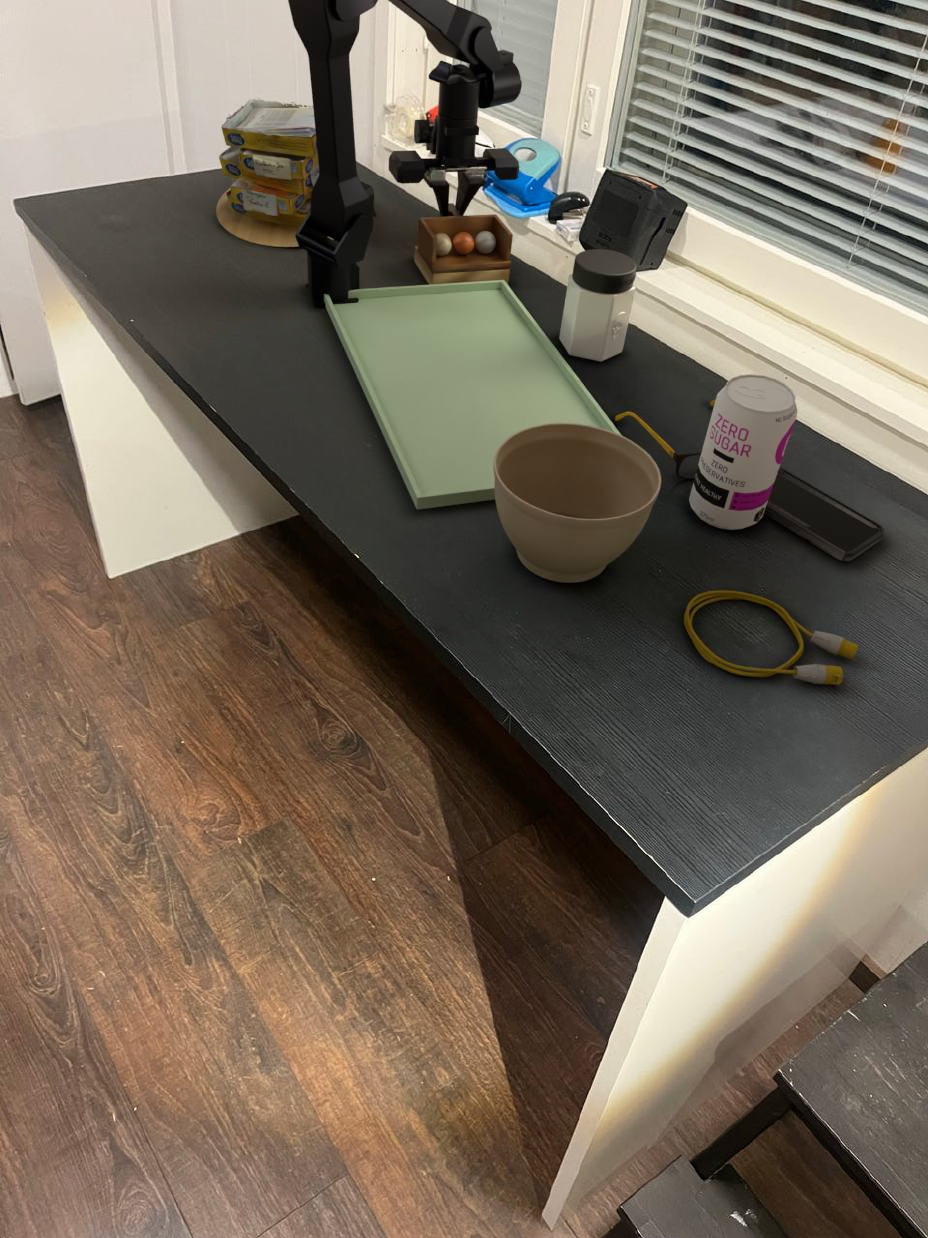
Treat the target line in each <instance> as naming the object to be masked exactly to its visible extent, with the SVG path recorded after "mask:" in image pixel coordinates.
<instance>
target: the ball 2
mask: <svg viewBox="0 0 928 1238" xmlns="http://www.w3.org/2000/svg"><path fill="white" fill-rule="evenodd" d="M473 247H474V240H473V238H472V236H471V235H470V234H468V233H466V232H460V233H458V234H457V235H456V236H455V237H454V239H453V248H454V250H455V251H456V252H457V253H458V254H460V255H466V254H469V253H470V252H471V251H472V249H473Z"/></svg>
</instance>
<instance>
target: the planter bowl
mask: <svg viewBox="0 0 928 1238" xmlns="http://www.w3.org/2000/svg"><path fill="white" fill-rule="evenodd" d="M621 435H622V434H621ZM621 435H619V434H617V433H614V432H612V431H609V430H606V429H603V428H599V427H595V426H590V425H584V424H576V423H549V424H541V425H536V426H532V427H529V428H526V429H523V430H521V431H519V432H517V433H515V434H513V435H511V436H510V437H509V438H507V439H506V440H505V441H504V442H503V443H502V444H501V445H500V446H499V448H498V449H497V451H496V453H495V456H494V465H493V470H494V477H495V484H494V485H495V500H494V501H495V506H496V510H497V514H498V517H499V520H500V523H501V525H502V528H503V530H504V533H505V534H506V536H507V538H508V539H509V541H510V543H511V544H512V545H513V547H514V548H515V550H516V554H517V557H518V559H519V561H520V562H521V564H522V565H523V566H524V567H525V568H526V569H527V570H529V571H530V572H531V573H533V574H534V575H536V576H538V577H540V578H542V579H546V580H548V581H551V582H557V583H563V584H564V583H566V584H574V583H581V582H582V583H583V582H586V581H590V580H592V579H593V578H595V577H597V576H599V575H600V574H602V573H603V571H604V570H605V569H606V567H607V566H608V565H609V564H610V563H612V562H614V561H615V560H616V559H617V558H619V557H621V555H622V554H623V553H624V552H626V550H628V548H629V547H630V546H631V545H632V544H633V543H634V541H635V540H636V539H637V538H638V536H639V535H640V534H641V532H642V531H643V529H644V527H645V526H646V523H647V521H648V519H649V517H650V514H651V513H652V509H653V506H654V504H655V503H656V501H657V499H658V497H659V494H660V490H661V487H662V474H661V471H660V468H659V465H658V464H657V463H656V461H655V460H654V458H653V457H652V456H651V455H650V454H649V452H647V451H646V450H645V449H644V448H643V447H642V446H640V445H638V443H636V442H634V441H632V440H631V439H629V438H628V437H625V436H624V435H622V436H621Z"/></svg>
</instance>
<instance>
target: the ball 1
mask: <svg viewBox="0 0 928 1238" xmlns="http://www.w3.org/2000/svg"><path fill="white" fill-rule="evenodd" d="M435 236H436V238H437V248H436V255H437V256H445V255H447V254H448V253H449V252H450V250H451V246H452V243H451V240H450V238H449V237H448V236H447V235H446V234H443V233H438V234H436V235H435Z"/></svg>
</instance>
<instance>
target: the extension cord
mask: <svg viewBox="0 0 928 1238" xmlns="http://www.w3.org/2000/svg"><path fill="white" fill-rule="evenodd" d="M725 600H743V601H749V602H752V603H755V604H759V605H763V606H766V607H768V608H770V609H771V610H773V611H774V612H775V613H776V614H778V615H779V616H780V617H781V618H782V619H783V621H784V622H785V623H786V625H788V627H789V628H790V630H791V632H792V633H793V635H794V636H795V638H796V641H797V643H798V645H799V648H798V649H797V651H796V652H795V654H793V656H791V658H789V660H787V661H786V662H785V663H783V664H781V665H780V666H777V667H775V668H762V667H761V668H760V667H750V666H743V665H739V664H735V663H732V662H729V661H727V660H724V659H722V658H721V657H719V656H717V655H716V654H715V652H713V651H712V650H711V649H710V648H708V647H707V646H706V645H705V643H704V642H703V641H702V640H701V639H700V638H699V636H698V635H697V634H696V631H695V630H694V627H693V618H694V616H695V614H696V612H697V611H698V610H699V609H701V608H702V607H704V606H706V605H708V604H711V603H715V602H718V601H719V602H720V601H725ZM691 609H692V611H691ZM683 623H684V627H685V630H686V632H687V634H688V636H689V637H690V640H691V642H692V643H693V645H694V647H695V649H696V651H698V653H699V654H700V656H701V657H703V658H704V660H705V661H707V662H708V663H710V664H712V665H714V666H716V667H718V668H720V669H722V670H724V671H726V672H729V673H731V674H734V675H737V676H744V677H752V678H768V677H771V676H774V675H776V674H787V675H788V674H789V675H792V676H793V678H794V680H795V679H797V680H800V681H803V682H807V683H811V684H813V685H831V686H840V685H841V684H842V683H843V679H844V671H843V668H842V667H841V666H838V665H827V664H818V663H814V664H804V665H795V666H794V667H793V669H788V668H790V667H792V666H793V665H794V664H795V663H797V661H798V660H799V659H800V658H801V656H802V655H803V653H804V648H805V647H804V639H803V636H802V634H801V632H802V633H804V634H805V635H806V636H808V637H811V638H810V642H811V643H813V644H814V645H815V646H817V647H819V648H821V649H823V650H824V651H826V652H827V653H828V654H832V655H835V656H838V655H839V656H841V657H844V658H846V659H849V660H851V661H853V659H854V658H855V656H856V653H857V652H858V649H859V644H857V643H854V642H851V641H849V640H846V638H845V637H842V636H840V635H838V634H833V633H829V632H824V631H818V630H816V629H815V630H814V632H810V631H809V630H808V629H807V628H805V627H803V626H802V625H801V624H800V623H798V622H797V621H796V620H795V619H794V618H792V617H791V616H790V614H789V613H788V612H787V610H785V608H784V607H782V605H780V604H778V603H777V602H775V601H773V600H771V599H768V598H765V597H762V596H760V595H756V594H754V593H753V594H752V593H748V592H743V591H737V590H727V589H720V590H718V589H717V590H707V591H703V592H701V593H699V594H696V595H695V596H694V597H692V598H691V600H689V602H688V604H687V606H686V609H685V612H684V615H683ZM800 631H801V632H800Z"/></svg>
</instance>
